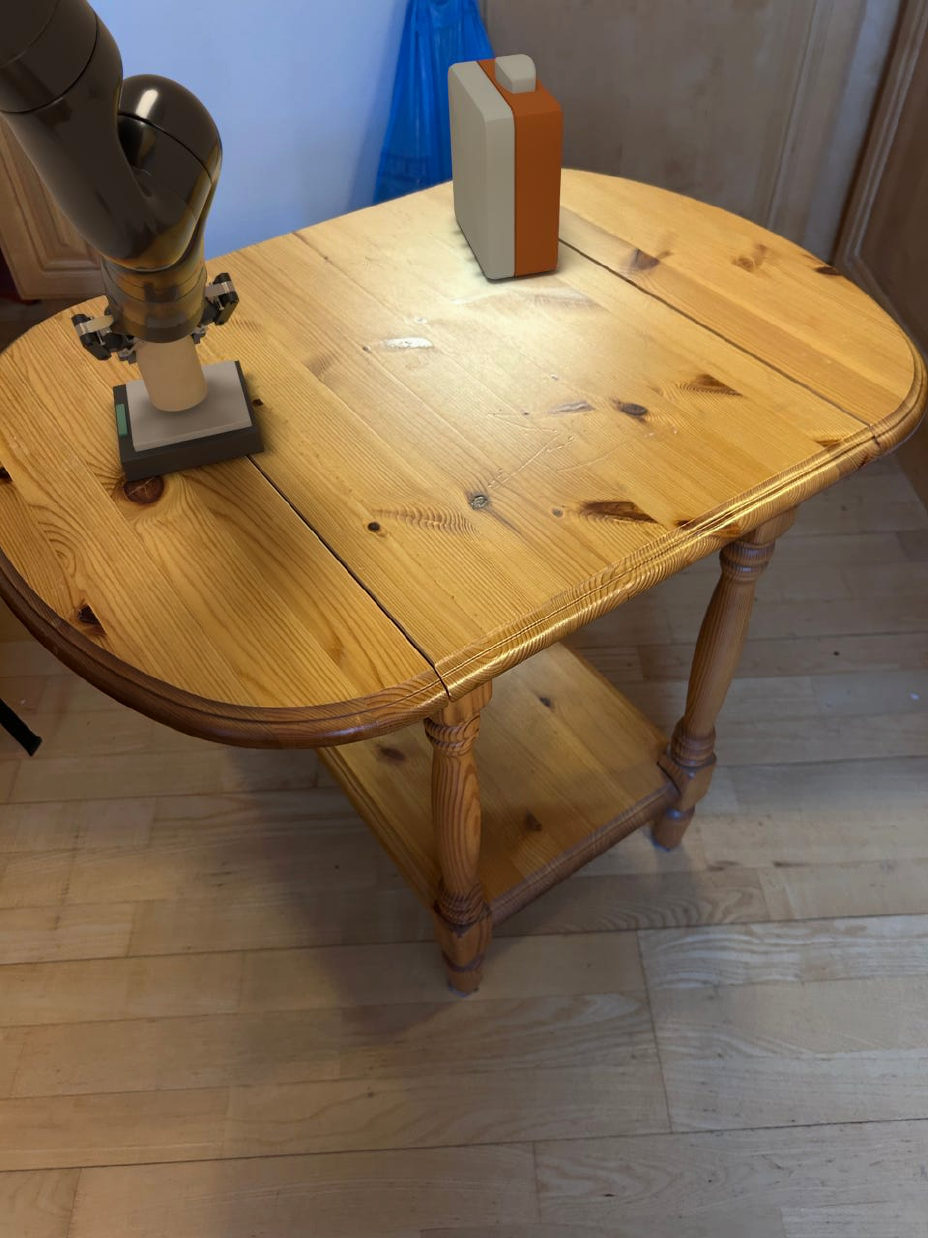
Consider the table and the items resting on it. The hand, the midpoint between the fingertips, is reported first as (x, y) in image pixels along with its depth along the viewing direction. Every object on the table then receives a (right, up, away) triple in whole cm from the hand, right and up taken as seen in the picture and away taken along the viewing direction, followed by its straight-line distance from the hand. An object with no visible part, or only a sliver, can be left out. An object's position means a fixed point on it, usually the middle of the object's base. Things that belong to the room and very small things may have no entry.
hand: (160, 343), depth 85 cm
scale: (+1, -7, +6) cm, 9 cm away
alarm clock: (+34, +21, +28) cm, 49 cm away
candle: (+1, -4, +3) cm, 5 cm away
